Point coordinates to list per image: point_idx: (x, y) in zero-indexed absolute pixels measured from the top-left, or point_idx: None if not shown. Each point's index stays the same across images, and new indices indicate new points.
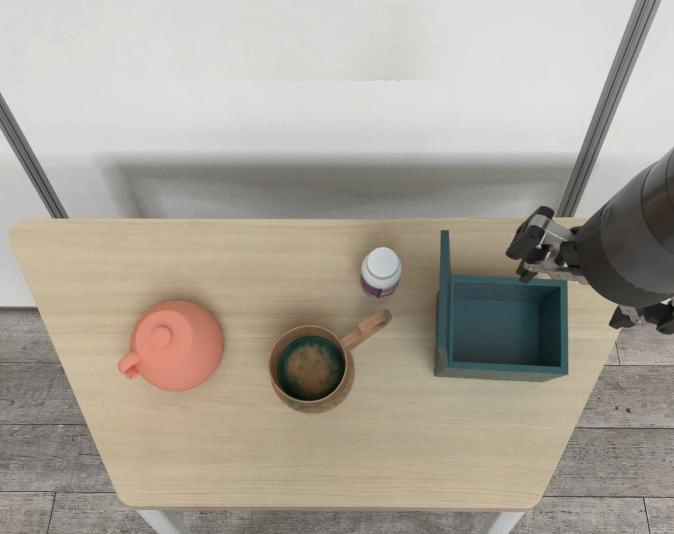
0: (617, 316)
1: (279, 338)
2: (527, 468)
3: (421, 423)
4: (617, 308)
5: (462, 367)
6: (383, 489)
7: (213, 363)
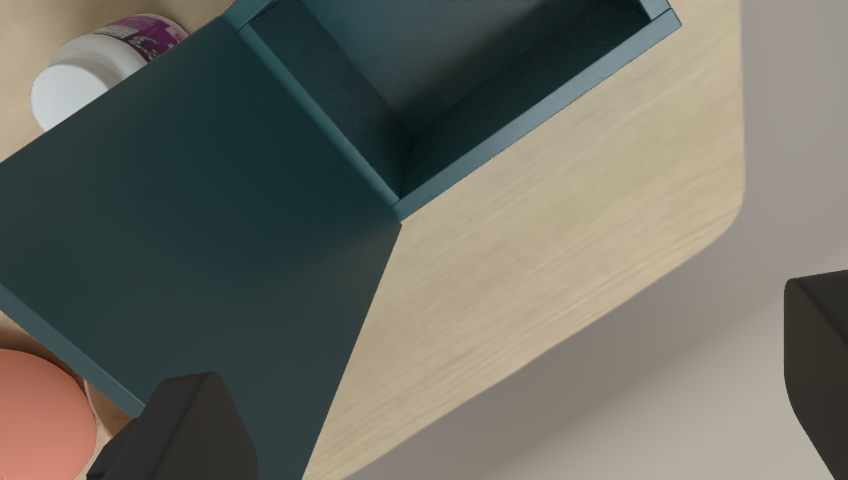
0: (831, 431)
1: (84, 381)
2: (701, 174)
3: (456, 240)
4: (797, 315)
5: (429, 196)
6: (479, 368)
7: (69, 424)
